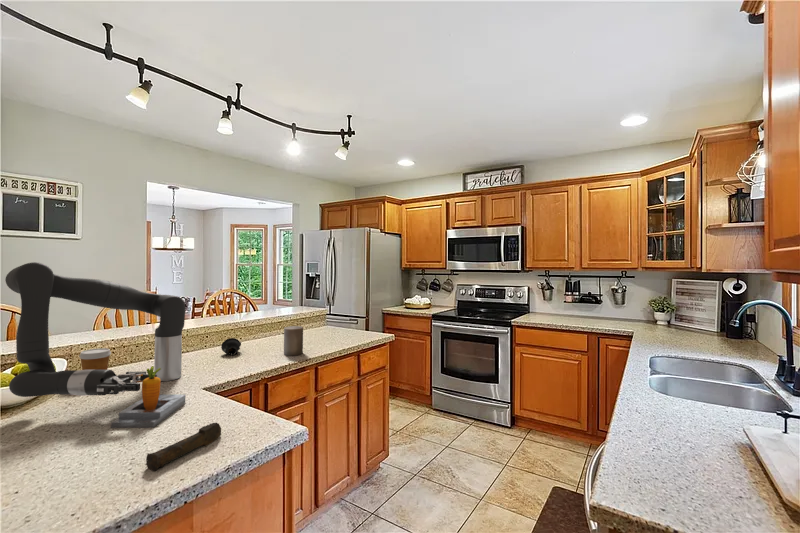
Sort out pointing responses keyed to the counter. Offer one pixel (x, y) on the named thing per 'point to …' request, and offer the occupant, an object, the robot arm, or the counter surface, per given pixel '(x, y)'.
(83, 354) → the disposable coffee cup
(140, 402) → the shallow gray tray
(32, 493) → the counter surface
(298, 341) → the pillar candle
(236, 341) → the black round flared piece
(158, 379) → the carrot
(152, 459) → the dark brown stick
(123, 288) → the robot arm
